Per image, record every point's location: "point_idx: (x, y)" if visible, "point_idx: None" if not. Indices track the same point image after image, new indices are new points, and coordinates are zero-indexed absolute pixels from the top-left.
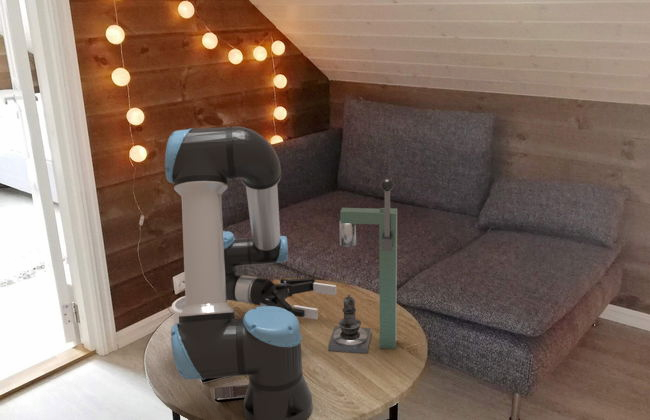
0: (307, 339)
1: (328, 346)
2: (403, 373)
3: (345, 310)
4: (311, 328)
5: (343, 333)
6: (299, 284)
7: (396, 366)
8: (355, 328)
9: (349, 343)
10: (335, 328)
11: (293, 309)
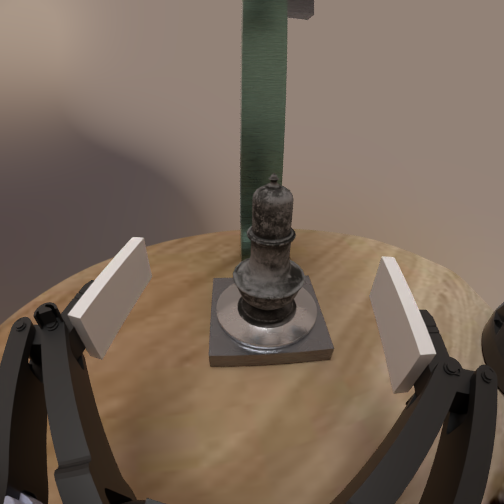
0: (286, 436)
1: (333, 349)
2: (340, 241)
3: (288, 232)
4: (203, 440)
5: (272, 315)
6: (65, 402)
7: (326, 248)
8: (292, 262)
9: (310, 301)
10: (226, 351)
11: (436, 357)
